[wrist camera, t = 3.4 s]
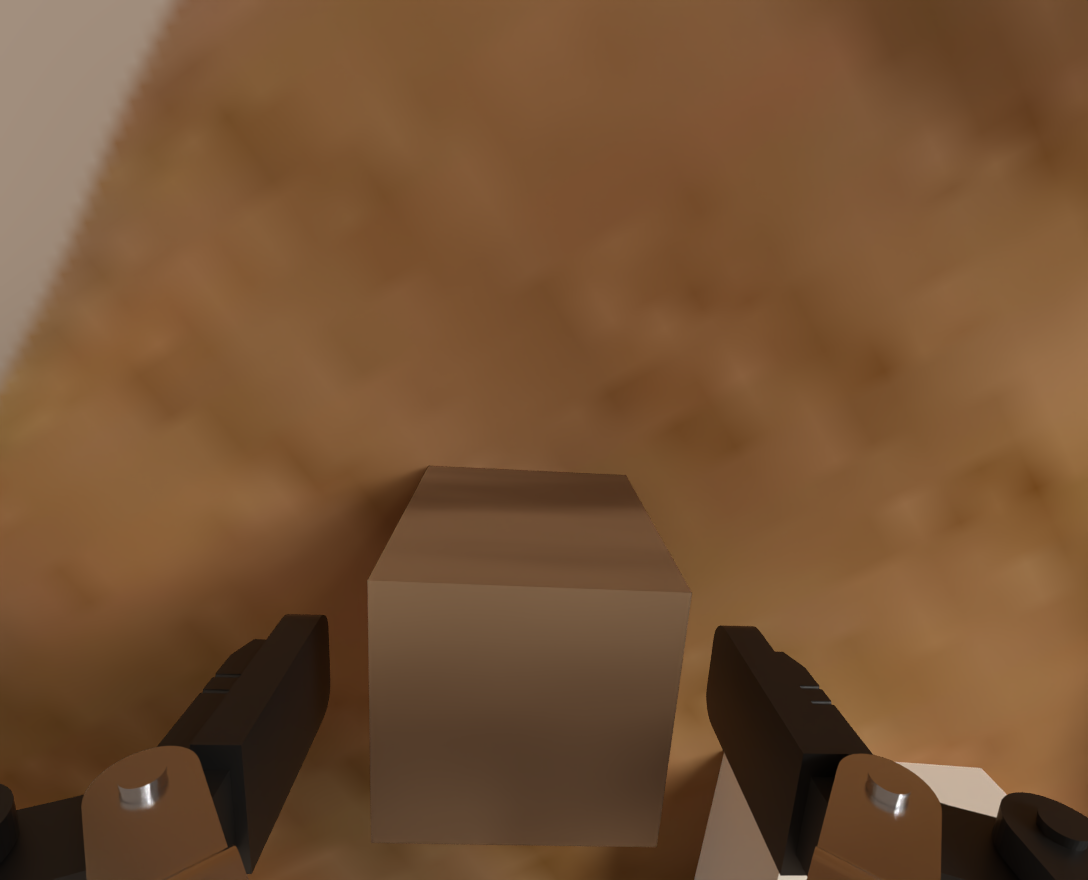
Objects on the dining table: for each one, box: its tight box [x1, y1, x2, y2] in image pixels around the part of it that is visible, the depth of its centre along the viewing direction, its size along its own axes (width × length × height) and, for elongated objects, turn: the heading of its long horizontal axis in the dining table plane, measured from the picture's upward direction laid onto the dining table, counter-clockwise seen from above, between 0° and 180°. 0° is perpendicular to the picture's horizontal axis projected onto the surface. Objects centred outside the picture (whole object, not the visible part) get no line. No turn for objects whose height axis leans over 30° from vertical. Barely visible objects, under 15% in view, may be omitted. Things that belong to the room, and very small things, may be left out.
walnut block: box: [367, 466, 692, 847], centre depth 12 cm, size 5×5×6 cm
